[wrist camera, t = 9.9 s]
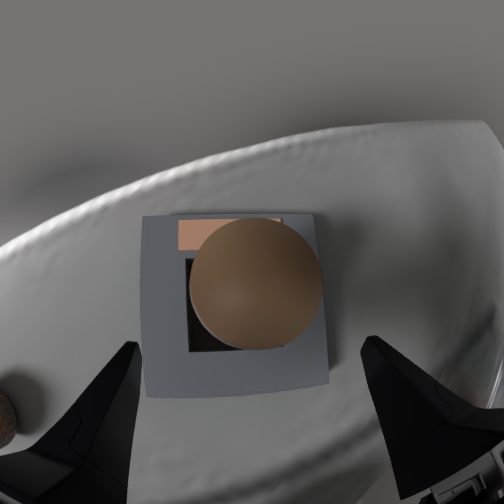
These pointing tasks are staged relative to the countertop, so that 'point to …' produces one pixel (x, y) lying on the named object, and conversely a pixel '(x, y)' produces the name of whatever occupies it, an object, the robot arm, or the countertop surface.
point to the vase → (6, 421)
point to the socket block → (178, 324)
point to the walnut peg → (256, 284)
